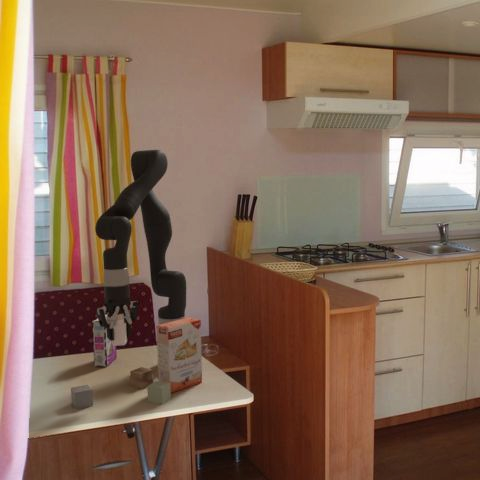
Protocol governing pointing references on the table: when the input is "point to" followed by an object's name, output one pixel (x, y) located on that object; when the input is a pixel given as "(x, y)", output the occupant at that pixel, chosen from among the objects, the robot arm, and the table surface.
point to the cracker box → (179, 353)
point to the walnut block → (141, 377)
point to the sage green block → (159, 392)
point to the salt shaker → (119, 331)
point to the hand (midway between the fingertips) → (119, 337)
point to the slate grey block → (81, 396)
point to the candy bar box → (102, 346)
